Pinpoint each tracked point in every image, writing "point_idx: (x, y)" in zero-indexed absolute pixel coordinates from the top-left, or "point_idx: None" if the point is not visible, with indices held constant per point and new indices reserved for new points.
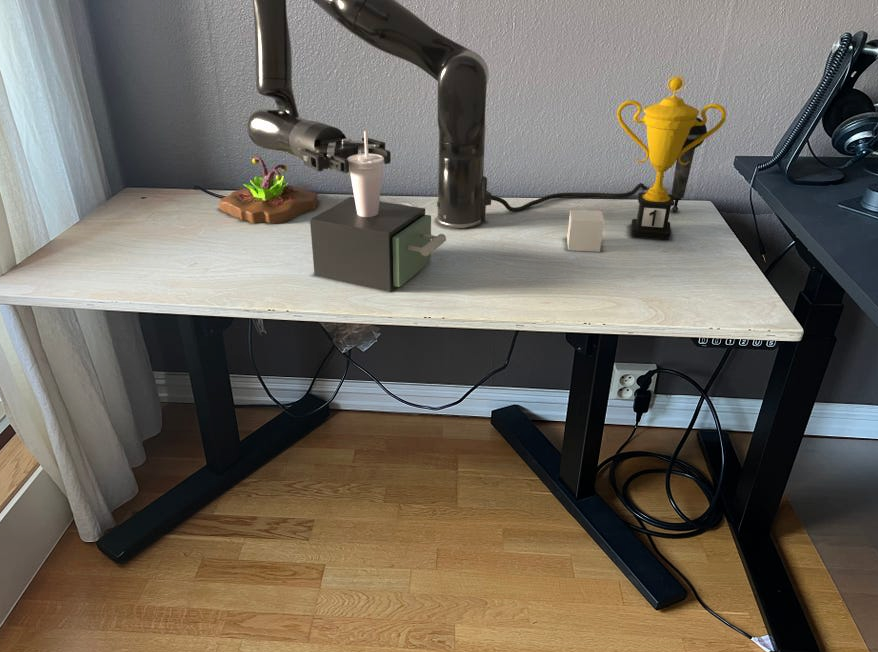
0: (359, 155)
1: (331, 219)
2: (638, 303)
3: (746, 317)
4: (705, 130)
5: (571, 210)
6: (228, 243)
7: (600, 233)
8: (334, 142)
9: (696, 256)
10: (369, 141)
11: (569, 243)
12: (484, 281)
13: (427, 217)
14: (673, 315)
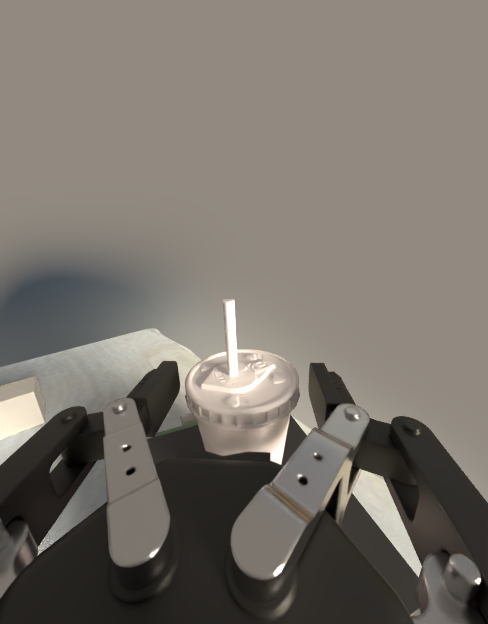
0: (234, 395)
1: (354, 530)
2: (155, 356)
3: (147, 335)
4: None
5: None
6: None
7: (39, 388)
8: (260, 505)
9: (46, 367)
10: (20, 487)
11: (42, 415)
12: (176, 426)
13: (167, 431)
14: (162, 346)
